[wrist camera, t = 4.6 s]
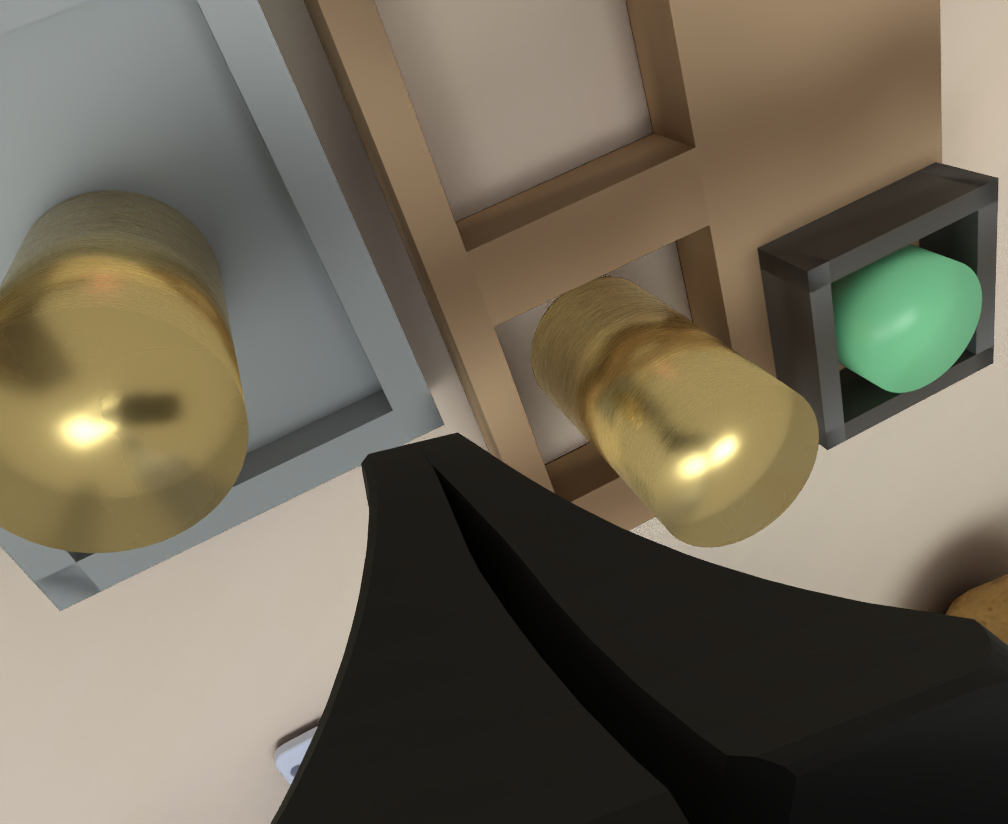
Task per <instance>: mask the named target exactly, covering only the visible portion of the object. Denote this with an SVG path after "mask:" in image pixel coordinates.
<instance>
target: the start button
mask: <svg viewBox="0 0 1008 824" xmlns="http://www.w3.org/2000/svg"><path fill="white" fill-rule="evenodd" d="M831 292H832V302H833V313H834V323H835V333H836V343H837V354H838V363H840V364H841V365H843V366H845V367H846V368H848V369H850V370H851V371H853V372H855V373H857V374H858V375H860V376H862V377H863V378H865V379H867V380H869V381H870V382H872V383H874V384H875V385H877V386H879V387H880V388H882V389H884V390H886V391H889V392H895V393H905V392H910V391H914V390H917V389H920V388H922V387H924V386H926V385H928V384H930V383H931V382H933V381H935V380H936V379H937V378H939V377H940V376H941V375H942V374H944V373H945V372H946V371H947V370H948V369H949V368H950V367H951V366H952V365H953V364H954V363H955V362H956V361H957V359H958V358H959V357H960V356H961V354H962V353H963V351H964V350H965V349H966V347H967V345H968V344H969V342H970V340H971V338H972V336H973V334H974V332H975V329H976V327H977V324H978V321H979V318H980V313H981V308H982V290H981V285H980V282H979V280H978V277H977V276H976V274H975V273H974V271H973V270H972V269H971V268H970V267H968V266H967V265H965V264H963V263H961V262H958V261H955V260H953V259H950V258H947V257H945V256H942V255H939V254H937V253H934V252H931V251H928V250H926V249H923V248H920V247H918V246H915V245H912V244H909V245H907V246H905V247H903V248H901V249H899V250H897V251H895V252H893V253H891V254H889V255H887V256H885V257H883V258H881V259H879V260H876V261H874V262H872V263H870V264H868V265H866V266H864V267H862V268H860V269H858V270H856V271H854V272H852V273H850V274H848V275H846V276H844V277H842V278H840V279H838V280H836V281H834V282H832V283H831Z"/></svg>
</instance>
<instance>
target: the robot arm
mask: <svg viewBox="0 0 1008 824" xmlns="http://www.w3.org/2000/svg"><path fill="white" fill-rule="evenodd" d="M361 466H362V472H363V478H364V483H365V489H366V495H367V500H368V506H369V525H368V540H367V551H366V558H365V564H364V570H363V576H362V582H361V588H360V594H359V599H358V603H357V607H356V612H355V616H354V620H353V624H352V628H351V632H350V635H349V639H348V642H347V646H346V649H345V653H344V656H343V659H342V662H341V665H340V668H339V671H338V673H337V676H336V679H335V682H334V685H333V688H332V691H331V694H330V697H329V699H328V702H327V704H326V707H325V710H324V712H323V715H322V717H321V720H320V722H319V725H318V726H316V727H315V728H313V729H311V730H309V731H307V732H305V733H303V734H301V735H299V736H298V737H296V738H294V739H292V740H290V741H288V742H286V743H284V744H283V745H281V746H280V747H279V748H278V749H277V750H276V751H275V754H274V760H275V765H276V768H277V769H278V771H279V772H280V773H281V774H282V775H283V777H284V778H285V779H286V780H287V781H288V783H289V784H290V785H291V786H290V788H289V790H288V792H287V794H286V796H285V798H284V800H283V802H282V804H281V806H280V808H279V810H278V811H277V813H276V815H275V817H274V818H273V820H272V822H271V824H1008V645H1007V644H1005V643H1004V642H1003V641H1002V640H1000V639H999V638H998V637H997V636H995V635H994V634H993V633H992V632H990V631H989V630H988V629H987V628H985V627H984V626H983V625H981V624H980V623H979V622H977V621H976V620H975V619H970V618H963V617H957V616H950V615H944V614H937V613H930V612H924V611H917V610H910V609H904V608H897V607H891V606H884V605H877V604H871V603H866V602H861V601H856V600H851V599H846V598H842V597H837V596H832V595H828V594H823V593H819V592H814V591H809V590H805V589H801V588H797V587H793V586H789V585H785V584H781V583H777V582H773V581H769V580H766V579H762V578H759V577H755V576H752V575H749V574H746V573H742V572H739V571H736V570H732V569H729V568H726V567H723V566H719V565H716V564H713V563H710V562H707V561H704V560H701V559H698V558H695V557H692V556H690V555H687V554H684V553H681V552H679V551H676V550H674V549H671V548H669V547H666V546H664V545H661V544H659V543H656V542H654V541H651V540H649V539H646V538H644V537H641V536H639V535H637V534H634V533H632V532H630V531H628V530H625V529H623V528H621V527H619V526H617V525H615V524H613V523H611V522H609V521H607V520H605V519H603V518H601V517H599V516H597V515H595V514H593V513H591V512H589V511H587V510H585V509H583V508H581V507H579V506H577V505H575V504H573V503H571V502H569V501H568V500H566V499H564V498H562V497H560V496H559V495H557V494H555V493H553V492H552V491H550V490H548V489H546V488H545V487H543V486H541V485H540V484H538V483H536V482H534V481H533V480H531V479H529V478H528V477H526V476H525V475H523V474H521V473H520V472H518V471H516V470H515V469H513V468H512V467H510V466H509V465H507V464H505V463H504V462H502V461H501V460H499V459H498V458H496V457H495V456H493V455H491V454H490V453H488V452H487V451H485V450H484V449H482V448H481V447H479V446H478V445H476V444H475V443H473V442H472V441H470V440H468V439H467V438H465V437H464V436H462V435H461V434H459V433H454V434H450V435H446V436H441V437H437V438H433V439H429V440H425V441H420V442H416V443H412V444H408V445H404V446H399V447H395V448H391V449H387V450H383V451H378V452H374V453H370V454H368V455H367V456H366V458H365V459H364V460H363V461H362V463H361ZM299 764H300V766H297V767H295V766H296V765H299Z"/></svg>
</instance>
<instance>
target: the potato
mask: <svg viewBox="0 0 1008 824" xmlns="http://www.w3.org/2000/svg"><path fill="white" fill-rule="evenodd" d="M945 615H950V616H957V617H963V618H970V619H975V620H976V621H977V622H979V623H980V624H981V625H983V626H984V627H985V628H987V629H988V630H989V631H990V632H992V633H993V634H994V635H995V636H997V637H998V638H999V639H1000V640H1002V641H1003V642H1004V643H1005V644H1007V645H1008V574H1006V575H1004V576H1002V577H999V578H997V579H994V580H992V581H990V582H987V583H985V584H982V585H980V586H978V587H975V588H973V589H970V590H968V591H966V592H965V593H963V594H962V595H961V596H959V597H958V598H956V599H955V600H953V602H952V604H951V605H950V607H949V609H948V610H947V612H946V614H945Z"/></svg>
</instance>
